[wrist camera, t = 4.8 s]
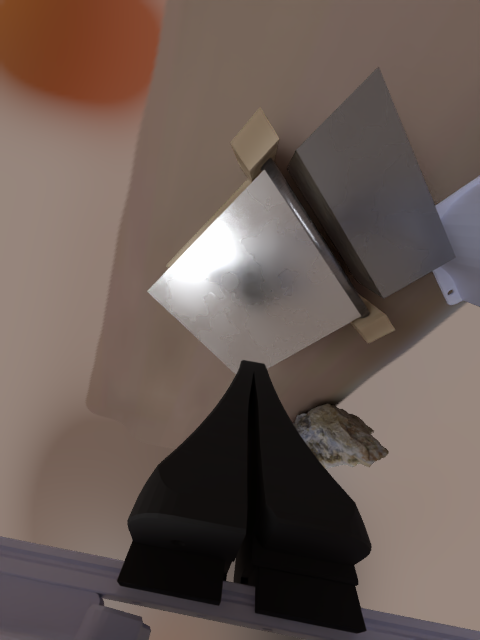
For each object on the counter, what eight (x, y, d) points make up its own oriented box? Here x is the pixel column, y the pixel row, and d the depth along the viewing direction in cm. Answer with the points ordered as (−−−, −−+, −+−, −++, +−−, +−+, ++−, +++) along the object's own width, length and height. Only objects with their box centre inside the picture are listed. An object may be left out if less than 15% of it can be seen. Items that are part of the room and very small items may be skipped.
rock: (399, 471, 17) (379, 434, 26) (361, 401, 19) (355, 388, 28) (283, 489, 21) (300, 451, 30) (263, 429, 23) (285, 410, 32)
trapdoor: (412, 254, 16) (459, 266, 12) (247, 356, 23) (245, 384, 19) (337, 101, 13) (371, 49, 9) (167, 275, 19) (143, 290, 15)
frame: (360, 301, 19) (395, 330, 14) (260, 360, 24) (260, 397, 19) (260, 145, 14) (260, 106, 9) (160, 256, 19) (124, 269, 14)
